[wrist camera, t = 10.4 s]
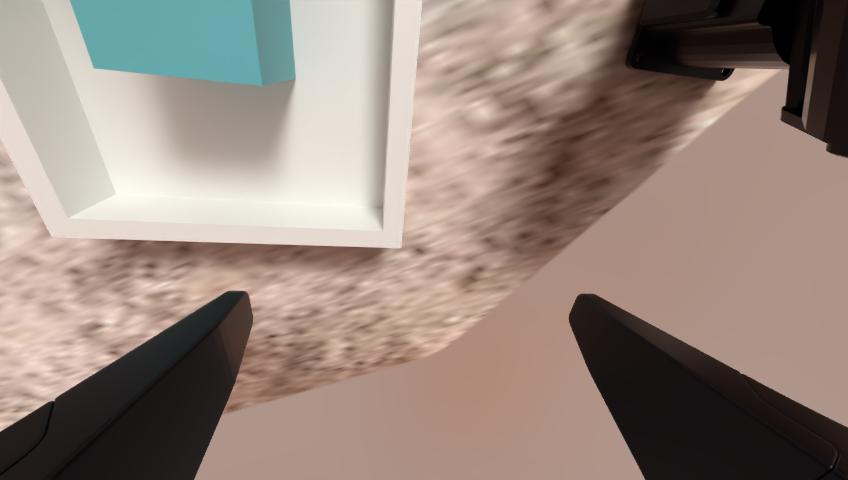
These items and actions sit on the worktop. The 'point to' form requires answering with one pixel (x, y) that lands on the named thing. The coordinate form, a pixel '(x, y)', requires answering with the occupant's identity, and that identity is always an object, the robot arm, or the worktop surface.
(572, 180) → the worktop surface
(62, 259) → the worktop surface
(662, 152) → the worktop surface
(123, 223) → the grey tray
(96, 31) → the teal block
